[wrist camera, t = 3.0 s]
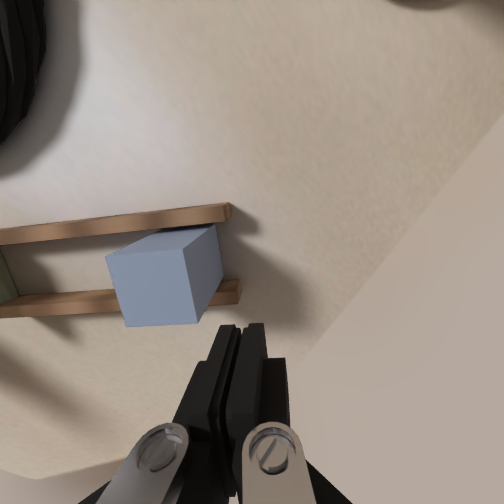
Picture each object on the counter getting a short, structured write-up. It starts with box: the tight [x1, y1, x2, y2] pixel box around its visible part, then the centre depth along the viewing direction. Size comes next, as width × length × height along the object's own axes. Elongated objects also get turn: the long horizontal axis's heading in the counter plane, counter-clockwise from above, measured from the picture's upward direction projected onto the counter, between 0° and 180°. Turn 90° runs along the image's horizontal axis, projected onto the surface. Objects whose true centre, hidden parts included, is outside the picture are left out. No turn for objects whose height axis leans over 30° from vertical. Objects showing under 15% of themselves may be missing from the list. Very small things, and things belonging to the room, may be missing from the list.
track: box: [0, 202, 242, 318], centre depth 22 cm, size 25×8×6 cm, turn 97°
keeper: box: [105, 224, 224, 327], centre depth 20 cm, size 5×5×8 cm
